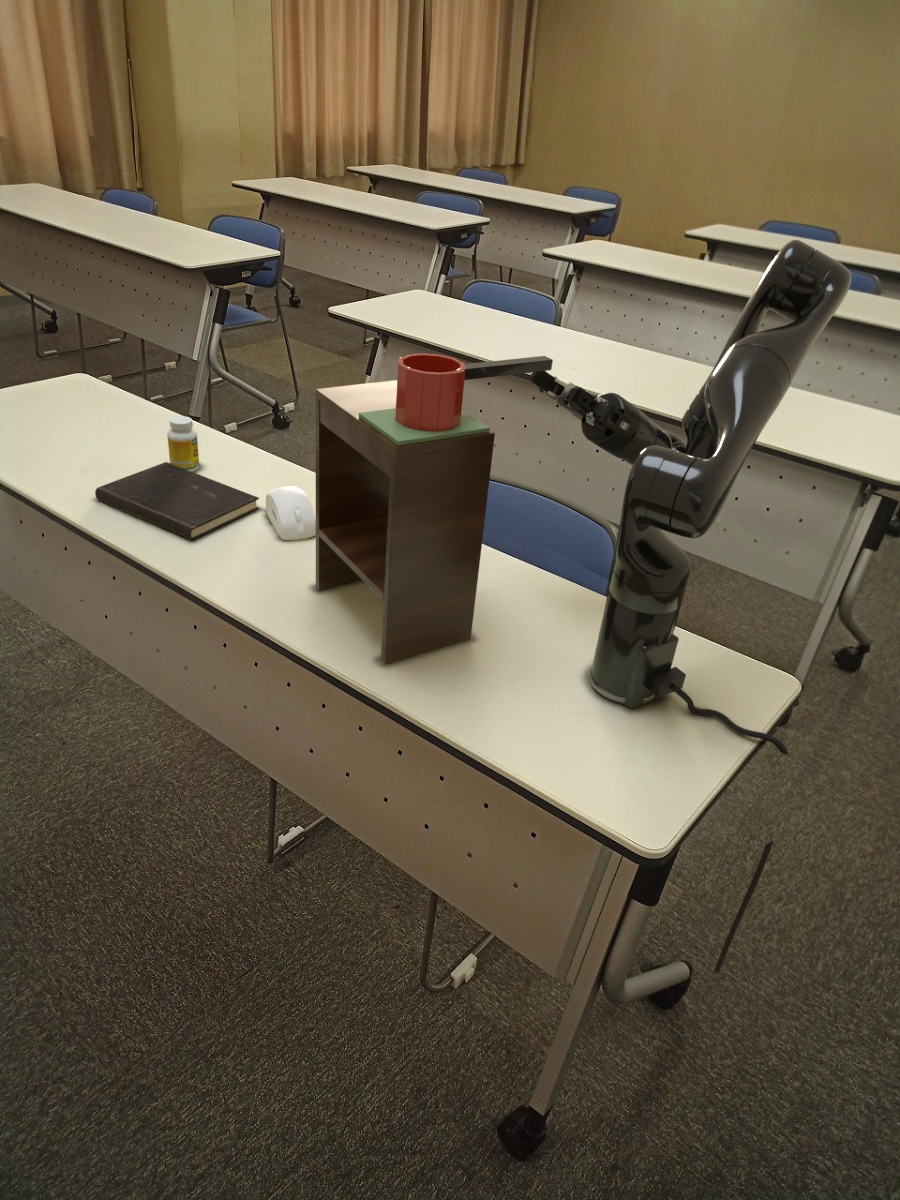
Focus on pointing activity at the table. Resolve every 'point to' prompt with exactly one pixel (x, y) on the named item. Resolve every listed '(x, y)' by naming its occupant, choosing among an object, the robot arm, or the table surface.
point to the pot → (446, 386)
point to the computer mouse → (291, 513)
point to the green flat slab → (405, 435)
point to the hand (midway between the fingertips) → (553, 383)
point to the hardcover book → (178, 500)
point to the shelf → (400, 519)
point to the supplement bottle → (183, 443)
